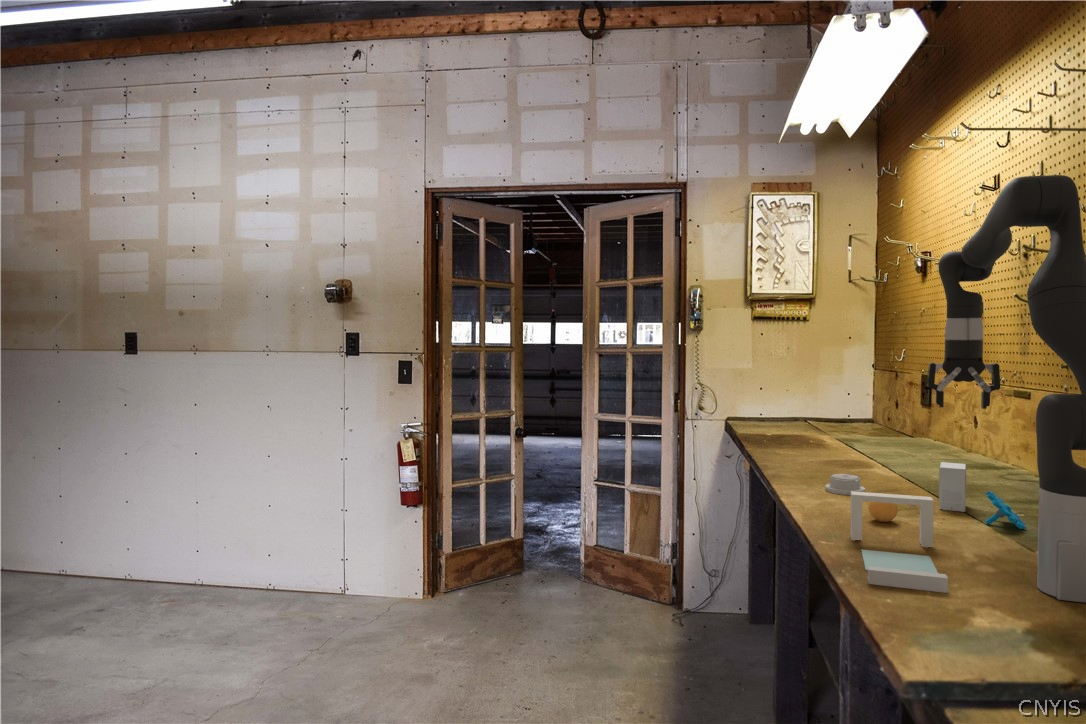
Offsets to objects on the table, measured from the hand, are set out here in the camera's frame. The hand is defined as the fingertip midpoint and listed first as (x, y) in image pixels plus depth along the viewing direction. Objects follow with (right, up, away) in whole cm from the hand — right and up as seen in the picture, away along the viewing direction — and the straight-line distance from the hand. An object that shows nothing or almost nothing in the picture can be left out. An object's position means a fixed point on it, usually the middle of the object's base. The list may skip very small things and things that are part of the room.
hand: (962, 407), depth 156 cm
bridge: (-25, -27, -16) cm, 40 cm away
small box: (+4, -26, +10) cm, 28 cm away
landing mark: (-30, -28, -29) cm, 50 cm away
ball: (-19, -23, -2) cm, 30 cm away
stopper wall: (-35, -28, -40) cm, 60 cm away
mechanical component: (-15, -25, +28) cm, 40 cm away
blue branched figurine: (+6, -26, -6) cm, 28 cm away
